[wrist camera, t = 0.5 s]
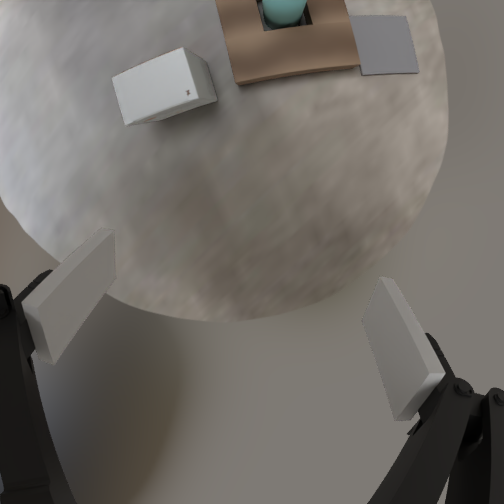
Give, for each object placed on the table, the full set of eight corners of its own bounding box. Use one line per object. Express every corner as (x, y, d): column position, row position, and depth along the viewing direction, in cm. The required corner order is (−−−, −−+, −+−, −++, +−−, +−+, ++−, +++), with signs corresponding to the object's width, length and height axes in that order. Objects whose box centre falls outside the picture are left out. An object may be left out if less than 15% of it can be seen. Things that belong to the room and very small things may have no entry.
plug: (260, 4, 30) (255, -39, 18) (295, -1, 29) (306, -45, 17) (267, 35, 32) (266, 0, 20) (303, 29, 31) (319, -6, 19)
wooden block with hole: (212, -23, 28) (206, -35, 25) (321, -39, 26) (326, -52, 23) (238, 85, 35) (235, 82, 31) (352, 68, 33) (360, 64, 29)
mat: (347, 17, 30) (348, 16, 29) (404, 17, 29) (405, 16, 28) (361, 75, 33) (362, 74, 32) (417, 72, 32) (419, 72, 31)
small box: (206, 60, 33) (185, 44, 24) (218, 101, 36) (201, 98, 26) (147, 82, 35) (109, 76, 25) (158, 121, 37) (123, 127, 27)
